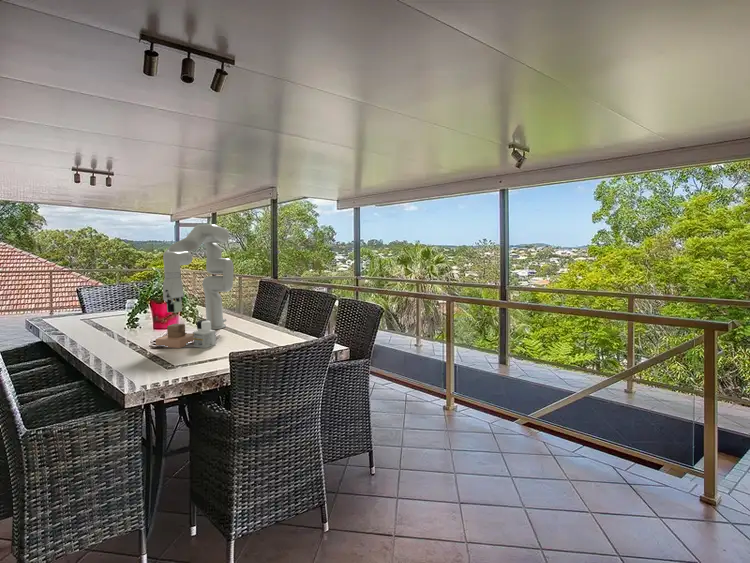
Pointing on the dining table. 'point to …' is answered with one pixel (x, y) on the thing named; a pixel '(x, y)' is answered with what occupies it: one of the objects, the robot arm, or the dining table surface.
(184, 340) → the plinth
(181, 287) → the robot arm
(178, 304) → the sage block
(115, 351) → the dining table surface
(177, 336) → the walnut block
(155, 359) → the dining table surface
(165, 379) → the dining table surface
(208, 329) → the container
